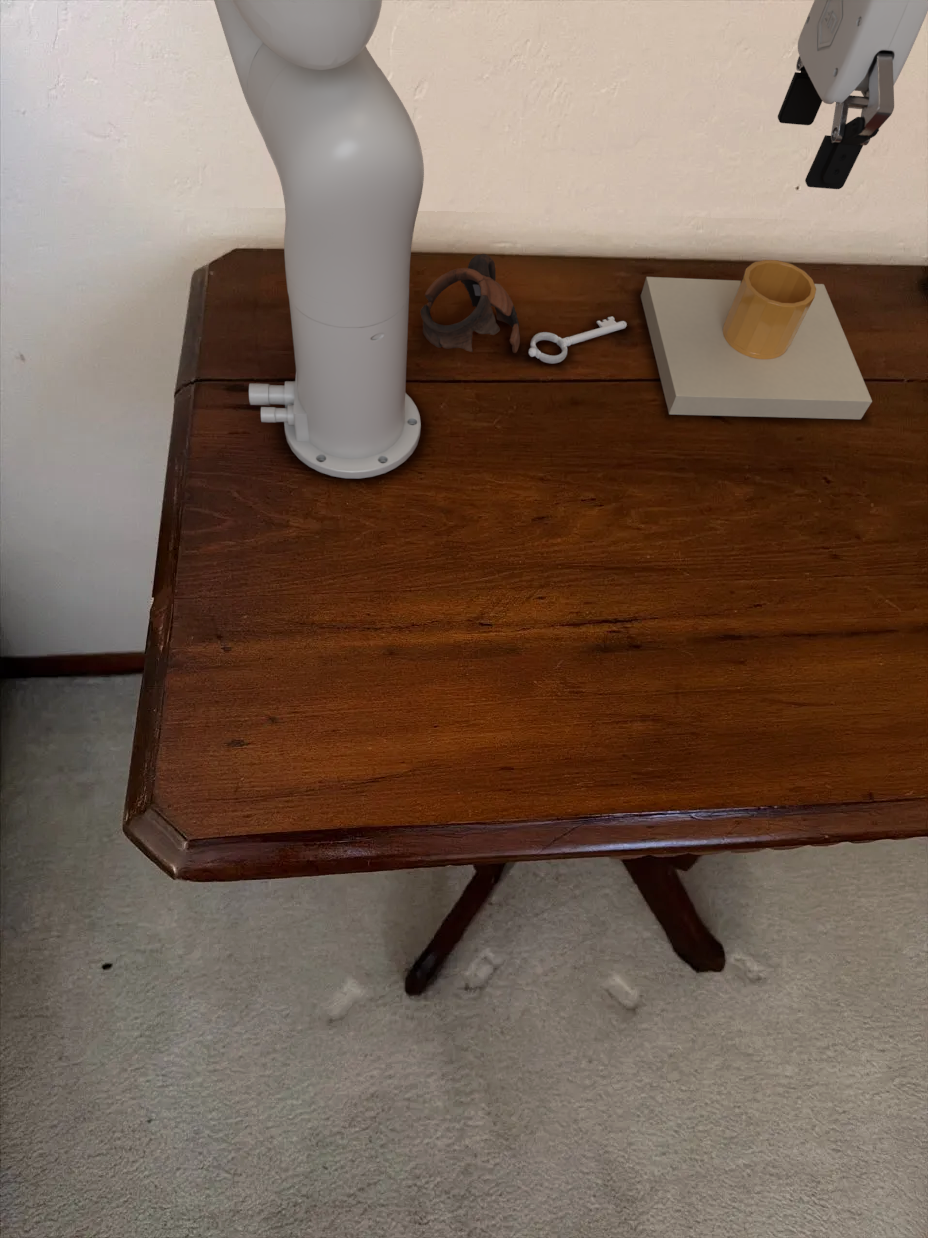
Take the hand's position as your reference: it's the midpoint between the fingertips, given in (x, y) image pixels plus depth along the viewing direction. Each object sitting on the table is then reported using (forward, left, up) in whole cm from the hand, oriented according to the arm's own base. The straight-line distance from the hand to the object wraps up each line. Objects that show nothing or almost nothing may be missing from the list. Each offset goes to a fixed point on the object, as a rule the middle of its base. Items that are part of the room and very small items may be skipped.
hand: (807, 153), depth 76 cm
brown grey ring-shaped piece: (-27, +1, -21) cm, 34 cm away
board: (+2, -1, -21) cm, 21 cm away
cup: (+2, -1, -19) cm, 19 cm away
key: (-16, 0, -21) cm, 26 cm away
